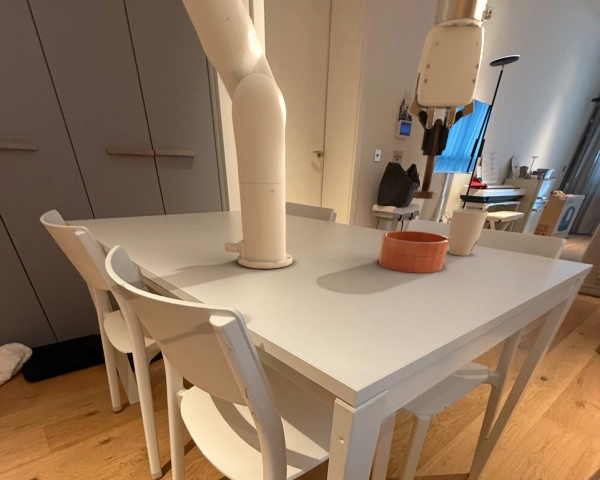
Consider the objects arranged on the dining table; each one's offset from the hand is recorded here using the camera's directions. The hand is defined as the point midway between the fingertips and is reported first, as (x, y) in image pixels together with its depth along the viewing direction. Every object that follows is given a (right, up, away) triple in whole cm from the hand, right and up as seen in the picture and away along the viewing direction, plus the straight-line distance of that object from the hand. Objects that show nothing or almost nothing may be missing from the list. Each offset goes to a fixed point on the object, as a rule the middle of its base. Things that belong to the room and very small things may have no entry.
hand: (432, 154), depth 66 cm
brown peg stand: (0, -6, +4) cm, 7 cm away
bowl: (0, -16, +13) cm, 21 cm away
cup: (+16, -10, +23) cm, 30 cm away
